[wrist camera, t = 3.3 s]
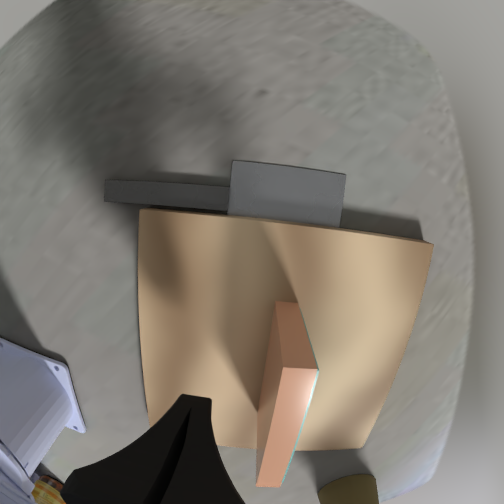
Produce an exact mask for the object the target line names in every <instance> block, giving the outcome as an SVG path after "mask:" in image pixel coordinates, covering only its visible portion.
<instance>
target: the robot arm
mask: <svg viewBox="0 0 504 504" xmlns="http://www.w3.org/2000/svg"><path fill="white" fill-rule="evenodd" d="M211 415H212V400H211V399H210V398H207V397H200V396H194V395H188V394H181V395H180V396H179V397H178V399H177V400H176V401H175V403H174V404H173V405H172V406H171V407H170V409H169V410H168V411H167V412H166V413H165V414H164V415H163V416H162V417H161V418H160V419H159V420H158V421H157V422H156V423H155V424H154V425H153V426H152V427H151V428H150V429H149V430H148V431H147V432H146V433H144V434H143V435H142V436H141V437H139V438H138V439H137V440H135V441H134V442H133V443H131V444H130V445H128V446H127V447H125V448H123V449H122V450H120V451H119V452H117V453H115V454H113V455H111V456H109V457H107V458H105V459H103V460H101V461H98V462H96V463H94V464H91V465H88V466H85V467H82V468H79V469H75V470H74V471H73V472H72V473H71V474H70V476H69V477H68V478H67V480H66V481H65V483H64V485H63V487H62V489H61V490H60V496H61V497H62V499H63V501H64V502H65V503H66V504H245V502H244V501H243V500H242V498H241V497H240V495H239V493H238V492H237V490H236V489H235V487H234V485H233V483H232V481H231V479H230V477H229V475H228V474H227V471H226V469H225V467H224V465H223V462H222V460H221V457H220V454H219V451H218V448H217V445H216V441H215V437H214V432H213V427H212V421H211ZM65 426H66V427H68V428H70V429H73V430H75V431H78V432H81V433H85V431H86V427H85V424H84V421H83V418H82V415H81V412H80V409H79V406H78V403H77V399H76V396H75V393H74V389H73V385H72V382H71V378H70V374H69V370H68V367H67V366H66V365H65V364H64V363H62V362H59V361H56V360H53V359H51V358H48V357H45V356H43V355H40V354H38V353H35V352H32V351H30V350H27V349H25V348H23V347H20V346H18V345H16V344H13V343H11V342H9V341H7V340H4V339H2V338H0V504H38V503H36V502H35V499H34V497H33V495H32V494H31V492H32V490H33V489H34V487H35V485H34V484H33V483H32V482H31V481H30V480H29V478H30V477H31V475H32V474H33V472H34V471H35V469H36V468H37V466H38V465H39V463H40V462H41V460H42V459H43V457H44V456H45V454H46V453H47V451H48V450H49V448H50V447H51V445H52V444H53V442H54V441H55V440H56V438H57V437H58V435H59V434H60V432H61V431H62V430H63V428H64V427H65Z"/></svg>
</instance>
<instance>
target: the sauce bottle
mask: <svg viewBox="0 0 504 504" xmlns="http://www.w3.org/2000/svg"><path fill="white" fill-rule="evenodd" d="M34 485H35V487H34V489H33V490H32V492H31V494H32V495H33V497H34V499H35V502H36V503H38V504H66V503H65V502H64V501H63V499H62V497H61V496H60V490H61V489H62V487H63V485H62V484H61V483H60V482H58V481H56V480H54V479H53V478H51V477H49V476H47V475H44V476H41V477H40V478H39V480H37V481H36V482H35V484H34Z"/></svg>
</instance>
